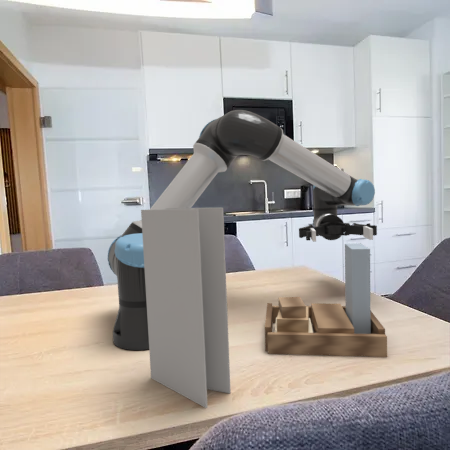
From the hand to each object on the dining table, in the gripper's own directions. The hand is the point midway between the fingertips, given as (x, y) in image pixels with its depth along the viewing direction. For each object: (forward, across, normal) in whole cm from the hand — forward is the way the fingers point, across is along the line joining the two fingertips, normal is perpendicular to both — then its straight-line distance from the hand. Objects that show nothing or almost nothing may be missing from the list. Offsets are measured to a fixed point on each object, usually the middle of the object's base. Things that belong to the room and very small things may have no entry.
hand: (342, 235), depth 89 cm
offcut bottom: (+13, +13, -21) cm, 28 cm away
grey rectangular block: (+13, 0, -21) cm, 25 cm away
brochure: (+35, +32, -20) cm, 51 cm away
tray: (+13, +8, -21) cm, 25 cm away
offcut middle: (+13, +13, -18) cm, 26 cm away
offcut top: (+13, +14, -15) cm, 24 cm away
